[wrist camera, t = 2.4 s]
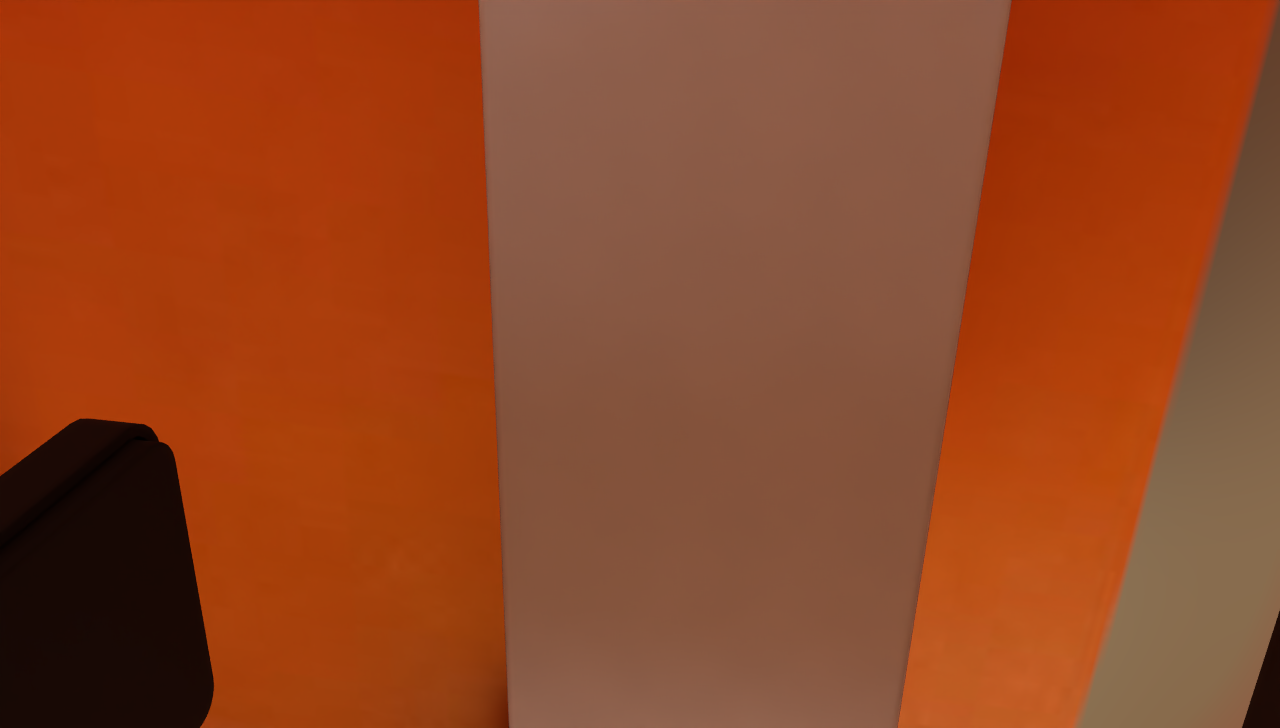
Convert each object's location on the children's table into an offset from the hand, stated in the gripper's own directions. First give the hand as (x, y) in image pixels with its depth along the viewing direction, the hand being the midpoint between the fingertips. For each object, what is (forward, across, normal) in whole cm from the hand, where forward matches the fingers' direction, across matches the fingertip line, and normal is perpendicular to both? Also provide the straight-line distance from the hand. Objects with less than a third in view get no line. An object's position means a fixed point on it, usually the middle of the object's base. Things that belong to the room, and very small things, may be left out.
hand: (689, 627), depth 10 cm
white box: (+18, 0, -1) cm, 18 cm away
